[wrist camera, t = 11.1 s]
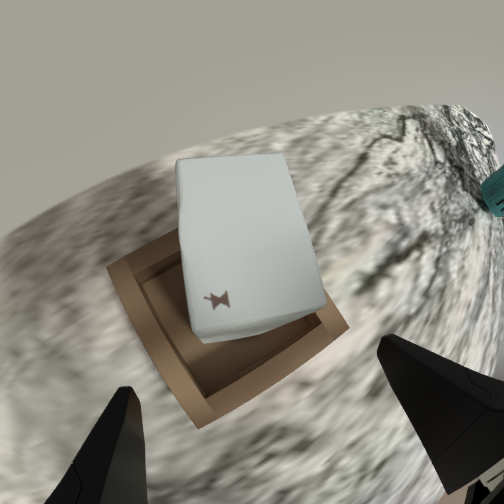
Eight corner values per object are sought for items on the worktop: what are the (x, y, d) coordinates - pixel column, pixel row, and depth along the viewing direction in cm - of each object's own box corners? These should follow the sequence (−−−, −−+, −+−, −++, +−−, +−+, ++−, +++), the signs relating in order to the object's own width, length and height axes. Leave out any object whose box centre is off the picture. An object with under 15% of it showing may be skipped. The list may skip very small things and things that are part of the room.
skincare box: (261, 334, 19) (333, 311, 8) (202, 344, 18) (187, 339, 7) (246, 254, 21) (286, 148, 10) (189, 262, 20) (169, 156, 9)
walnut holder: (329, 331, 21) (349, 327, 17) (200, 416, 17) (198, 429, 14) (248, 211, 23) (255, 189, 20) (121, 280, 20) (106, 267, 16)
